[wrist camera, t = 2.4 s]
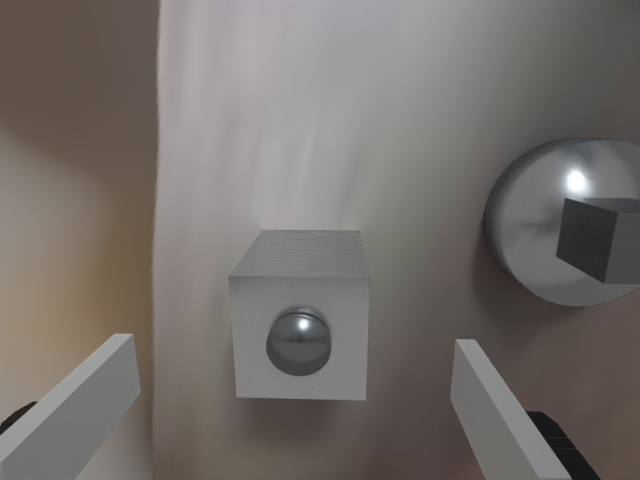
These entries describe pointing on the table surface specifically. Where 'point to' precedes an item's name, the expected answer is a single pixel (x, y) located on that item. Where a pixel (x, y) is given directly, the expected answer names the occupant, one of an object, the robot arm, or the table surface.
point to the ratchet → (569, 220)
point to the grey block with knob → (301, 316)
